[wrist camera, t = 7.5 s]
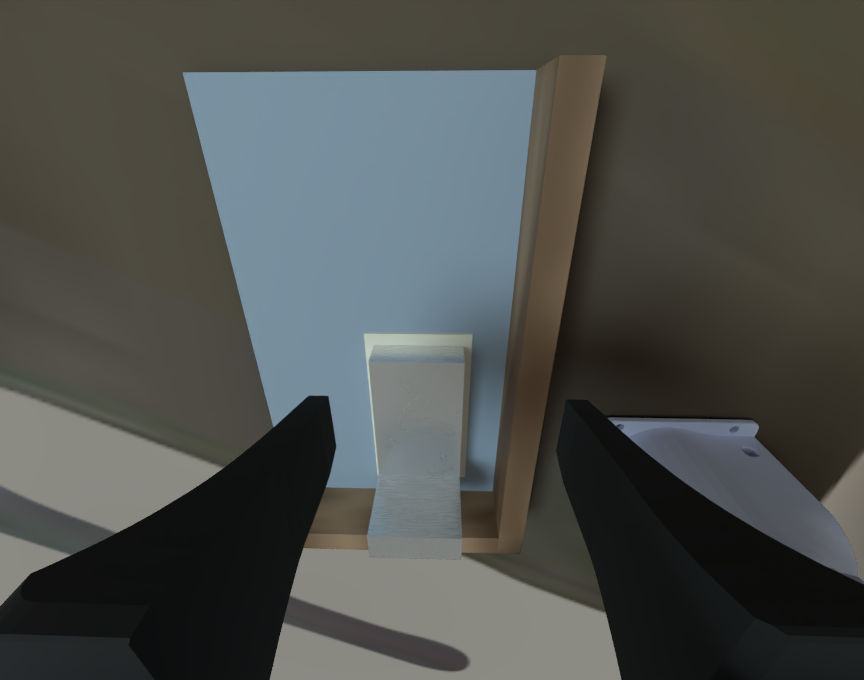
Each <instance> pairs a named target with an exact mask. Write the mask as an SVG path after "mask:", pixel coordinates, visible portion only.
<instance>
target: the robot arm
mask: <svg viewBox="0 0 864 680" xmlns="http://www.w3.org/2000/svg"><path fill="white" fill-rule="evenodd" d="M619 424H621V425H620V426H617V425H619ZM758 429H759V426H758V424H757V423H756V422H754V421H753V420H729V419H672V418H615V417H611V418H607V417H606V416H604V415H603V414H602V413H601V412H600V411H599V410H598V409H597V408H596V407H595V406H593V405H592V404H591V403H590V402H589V401H588V400H566V404H565V409H564V414H563V419H562V424H561V429H560V434H559V439H558V444H557V449H556V452H557V457H558V461H559V466H560V470H561V475H562V479H563V483H564V485H565V488H566V491H567V494H568V497H569V499H570V502H571V505H572V508H573V510H574V513H575V516H576V519H577V521H578V524H579V527H580V529H581V532H582V535H583V538H584V540H585V543H586V546H587V548H588V551H589V554H590V557H591V560H592V563H593V566H594V569H595V573H596V576H597V580H598V584H599V588H600V592H601V595H602V599H603V603H604V607H605V611H606V615H607V618H608V623H609V627H610V631H611V635H612V640H613V643H614V647H615V652H616V657H617V661H618V666H619V670H620V675H621V679H622V680H864V581H862V580H861V579H860V578H859V577H858V570H857V563H856V559H855V556H854V553H853V550H852V547H851V545H850V543H849V541H848V539H847V537H846V535H845V533H844V531H843V530H842V528H841V526H840V525H839V524H838V522H837V521H836V520H835V518H834V517H833V516H832V515H831V514H830V512H829V511H828V510H827V509H826V508H825V507H824V506H823V505H822V504H821V503H820V502H819V501H818V500H817V499H816V498H815V497H814V496H813V495H812V494H811V493H810V492H809V491H808V490H807V489H806V488H805V487H804V486H803V485H802V484H801V483H800V482H799V481H798V480H797V479H796V478H795V477H794V476H793V475H792V474H791V473H790V472H789V471H788V470H787V469H786V468H785V467H784V466H783V465H782V464H781V463H780V462H779V461H778V460H777V459H776V458H775V457H774V456H773V455H772V454H771V453H770V452H769V451H768V450H767V449H766V448H765V447H764V446H763V445H762V444H761V443H760V442H759V441H758V440H757V439H756V438H755V435H756V433H757V431H758ZM335 451H336V440H335V433H334V427H333V421H332V415H331V408H330V402H329V396H308V397H307V398H305V399H304V400H303V401H302V402H301V403H300V404H299V405H298V406H297V407H295V408H294V409H293V410H292V411H291V412H290V413H289V414H288V415H287V416H286V417H285V418H283V419H282V420H281V421H280V422H279V423H278V424H277V425H276V426H275V427H273V428H272V429H271V430H270V431H269V432H268V433H267V434H266V435H264V436H263V437H262V438H261V439H260V440H259V441H257V442H256V443H255V444H254V445H252V446H251V447H250V448H249V449H247V450H246V451H245V452H244V453H243V454H241V455H240V456H239V457H238V458H236V459H235V460H234V461H233V462H231V463H230V464H229V465H227V466H226V467H225V468H223V469H222V470H221V471H219V472H218V473H216V474H215V475H213V476H212V477H211V478H209V479H208V480H206V481H205V482H203V483H202V484H200V485H199V486H197V487H196V488H194V489H193V490H191V491H190V492H188V493H186V494H185V495H183V496H182V497H180V498H178V499H177V500H175V501H173V502H172V503H170V504H168V505H167V506H165V507H163V508H162V509H160V510H159V511H157V512H155V513H153V514H152V515H150V516H148V517H146V518H144V519H143V520H141V521H139V522H137V523H135V524H134V525H132V526H130V527H128V528H126V529H124V530H122V531H120V532H118V533H116V534H114V535H112V536H111V537H109V538H107V539H105V540H103V541H101V542H99V543H97V544H95V545H93V546H90V547H88V548H86V549H84V550H82V551H80V552H77V553H75V554H73V555H71V556H69V557H67V558H65V559H62V560H60V561H58V562H56V563H54V564H52V565H49V566H47V567H45V568H43V569H40V570H38V571H36V572H33V573H31V574H30V575H29V576H28V577H27V578H26V579H25V580H24V581H23V582H22V583H21V585H20V586H19V587H18V588H17V589H16V590H15V591H14V592H13V593H12V595H10V596H9V598H8V599H7V600H6V601H5V602H4V603H3V604H2V605H1V606H0V680H270V675H271V671H272V667H273V662H274V658H275V653H276V649H277V644H278V640H279V636H280V632H281V628H282V624H283V620H284V616H285V612H286V608H287V604H288V600H289V596H290V592H291V588H292V585H293V580H294V577H295V573H296V570H297V566H298V563H299V559H300V556H301V553H302V550H303V547H304V544H305V542H306V539H307V536H308V534H309V531H310V528H311V526H312V523H313V520H314V518H315V515H316V512H317V510H318V507H319V504H320V502H321V499H322V496H323V493H324V491H325V488H326V485H327V482H328V480H329V477H330V473H331V469H332V464H333V460H334V456H335Z"/></svg>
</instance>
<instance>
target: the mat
mask: <svg viewBox="0 0 864 680" xmlns="http://www.w3.org/2000/svg"><path fill="white" fill-rule="evenodd" d="M183 76H184V79H185V83H186V87H187V91H188V95H189V99H190V103H191V107H192V111H193V115H194V118H195V122H196V126H197V130H198V134H199V138H200V142H201V146H202V150H203V154H204V157H205V161H206V165H207V169H208V173H209V177H210V181H211V185H212V189H213V193H214V196H215V200H216V204H217V208H218V212H219V216H220V220H221V224H222V228H223V232H224V236H225V239H226V243H227V247H228V251H229V255H230V259H231V263H232V267H233V271H234V275H235V278H236V282H237V286H238V290H239V294H240V298H241V302H242V306H243V310H244V314H245V317H246V321H247V325H248V329H249V333H250V337H251V341H252V345H253V349H254V353H255V357H256V360H257V364H258V368H259V372H260V376H261V380H262V384H263V388H264V392H265V396H266V399H267V403H268V407H269V411H270V415H271V419H272V423H273V427H275V426H276V425H277V424H278V423H279V422H280V421H281V420H282V419H283V418H285V417H286V416H287V415H288V414H289V413H290V412H291V411H292V410H293V409H294V408H295V407H297V406H298V405H299V404H300V403H301V402H302V401H303V400H304V399H305V398H307V397H308V396H329V402H330V408H331V415H332V421H333V427H334V433H335V440H336V451H335V456H334V460H333V464H332V469H331V473H330V477H329V480H328V482H327V485H326V487H332V488H376V487H377V481H378V476H379V470H378V459H377V448H376V438H375V427H374V416H373V405H372V395H371V384H370V373H369V363H368V361H369V358H370V355H371V352H372V349H373V346H374V345H427V346H463V348H464V360H465V368H464V390H463V412H462V433H461V455H460V490H464V491H493V482H494V472H495V462H496V453H497V443H498V434H499V424H500V414H501V405H502V395H503V386H504V376H505V366H506V357H507V347H508V338H509V328H510V318H511V309H512V299H513V290H514V280H515V270H516V261H517V251H518V242H519V232H520V222H521V213H522V203H523V194H524V184H525V174H526V165H527V155H528V146H529V136H530V126H531V117H532V107H533V98H534V88H535V78H536V70H484V71H338V72H192V73H183Z"/></svg>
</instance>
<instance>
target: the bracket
mask: <svg viewBox="0 0 864 680" xmlns="http://www.w3.org/2000/svg"><path fill="white" fill-rule="evenodd" d="M368 363H369V373H370V384H371V395H372V405H373V416H374V427H375V438H376V448H377V459H378V470H379V476H378V481H377V487H376V492H375V497H374V502H373V507H372V513H371V518H370V523H369V528H368V534H367V541H368V549H369V556H370V557H375V558H376V557H377V558H410V559H447V560H461V550H462V524H461V500H460V455H461V433H462V412H463V390H464V368H465V360H464V348H463V346H427V345H374V346H373V349H372V352H371V355H370V358H369V361H368Z"/></svg>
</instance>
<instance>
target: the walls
mask: <svg viewBox="0 0 864 680" xmlns="http://www.w3.org/2000/svg"><path fill="white" fill-rule="evenodd" d="M606 56H607V55H559V56H558V57H556V58H555V59H553V60H552V61H550V62H548V63H547V64H545V65H544V66H542V67H540V68H539V69H537V70H536V78H535V88H534V98H533V107H532V117H531V126H530V136H529V146H528V155H527V165H526V174H525V184H524V194H523V203H522V213H521V222H520V232H519V242H518V251H517V261H516V270H515V280H514V290H513V299H512V309H511V318H510V328H509V338H508V347H507V357H506V366H505V376H504V386H503V395H502V405H501V414H500V424H499V434H498V443H497V453H496V462H495V472H494V482H493V491H464V490H460V500H461V524H462V550H461V552H466V553H502V554H520V553H521V547H522V541H523V536H524V530H525V524H526V518H527V513H528V507H529V501H530V495H531V489H532V484H533V478H534V472H535V466H536V460H537V455H538V449H539V443H540V437H541V432H542V426H543V420H544V414H545V408H546V403H547V397H548V391H549V385H550V380H551V374H552V368H553V362H554V356H555V351H556V345H557V339H558V333H559V327H560V322H561V316H562V310H563V304H564V299H565V293H566V287H567V281H568V275H569V270H570V264H571V258H572V252H573V247H574V241H575V235H576V229H577V223H578V218H579V212H580V206H581V200H582V194H583V189H584V183H585V177H586V171H587V166H588V160H589V154H590V148H591V142H592V137H593V131H594V125H595V119H596V114H597V108H598V102H599V96H600V90H601V85H602V79H603V73H604V67H605V62H606ZM375 492H376V488H332V487H326V488H325V491H324V493H323V496H322V499H321V502H320V504H319V507H318V510H317V512H316V515H315V518H314V520H313V523H312V526H311V528H310V531H309V534H308V536H307V539H306V542H305V544H304V547H303V548H320V549H357V550H358V549H359V550H369V549H368V541H367V534H368V528H369V523H370V518H371V513H372V507H373V502H374V497H375Z"/></svg>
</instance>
